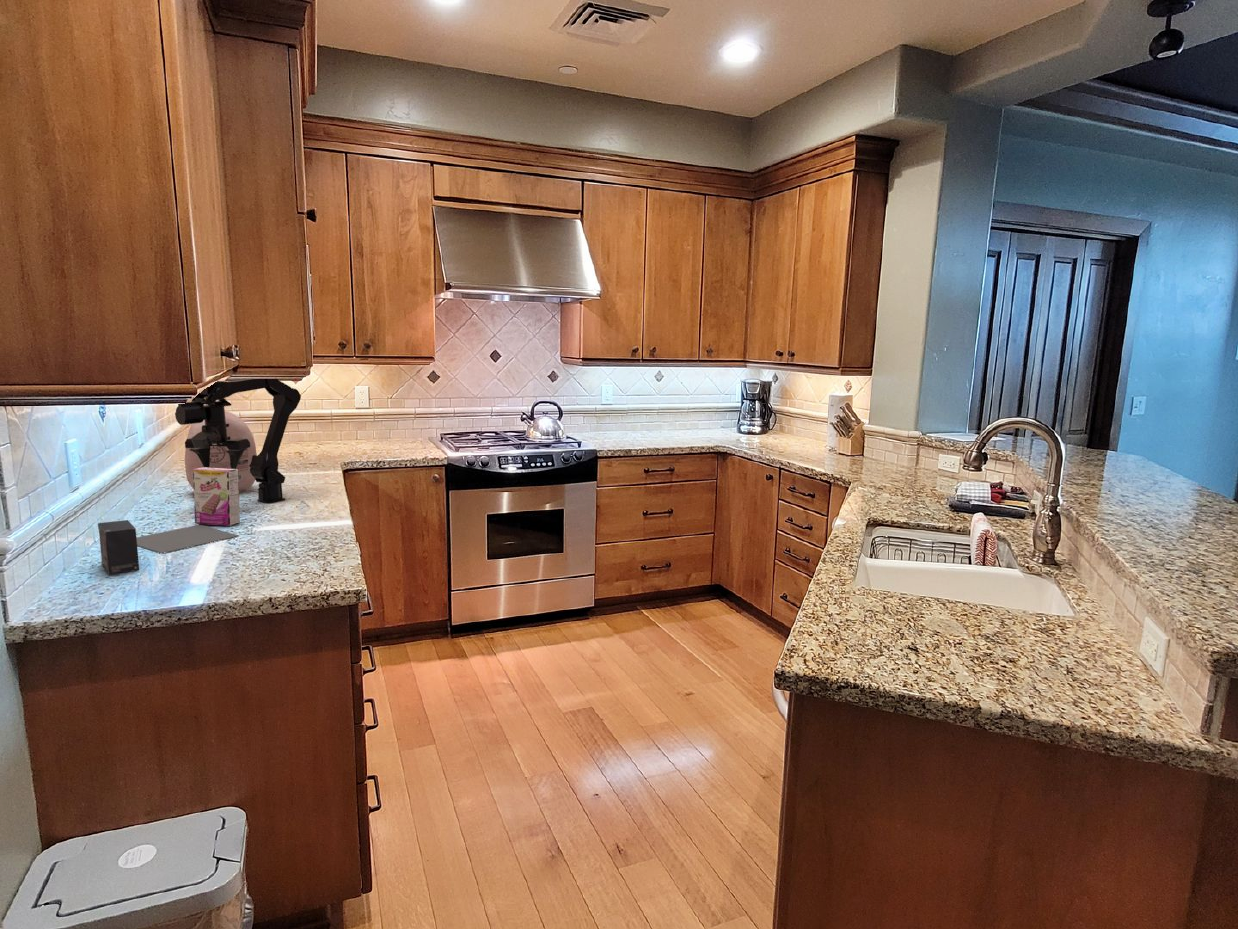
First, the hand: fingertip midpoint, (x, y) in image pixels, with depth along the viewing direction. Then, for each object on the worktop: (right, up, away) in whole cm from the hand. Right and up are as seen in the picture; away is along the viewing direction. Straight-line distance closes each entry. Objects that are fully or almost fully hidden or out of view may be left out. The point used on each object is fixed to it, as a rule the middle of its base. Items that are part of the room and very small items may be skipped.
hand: (220, 470), depth 221 cm
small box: (+7, -23, -54) cm, 59 cm away
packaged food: (-13, -9, +25) cm, 30 cm away
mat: (+7, -19, -30) cm, 36 cm away
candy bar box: (+8, -16, -15) cm, 23 cm away
